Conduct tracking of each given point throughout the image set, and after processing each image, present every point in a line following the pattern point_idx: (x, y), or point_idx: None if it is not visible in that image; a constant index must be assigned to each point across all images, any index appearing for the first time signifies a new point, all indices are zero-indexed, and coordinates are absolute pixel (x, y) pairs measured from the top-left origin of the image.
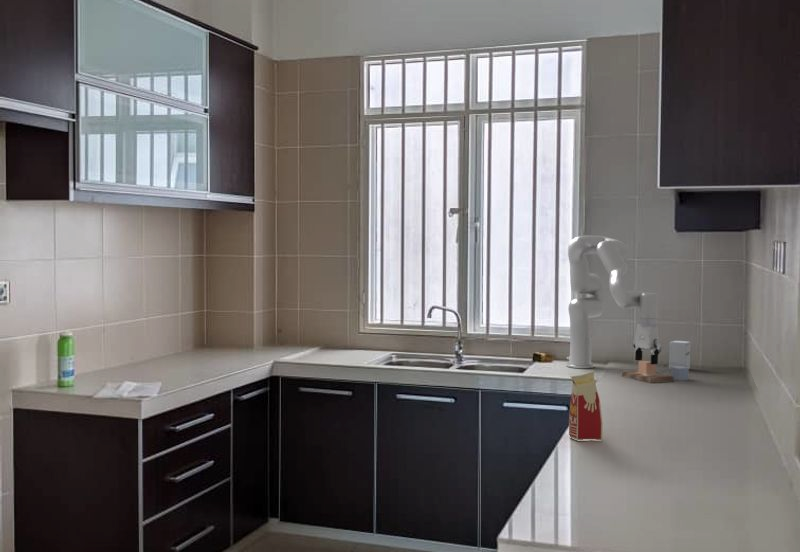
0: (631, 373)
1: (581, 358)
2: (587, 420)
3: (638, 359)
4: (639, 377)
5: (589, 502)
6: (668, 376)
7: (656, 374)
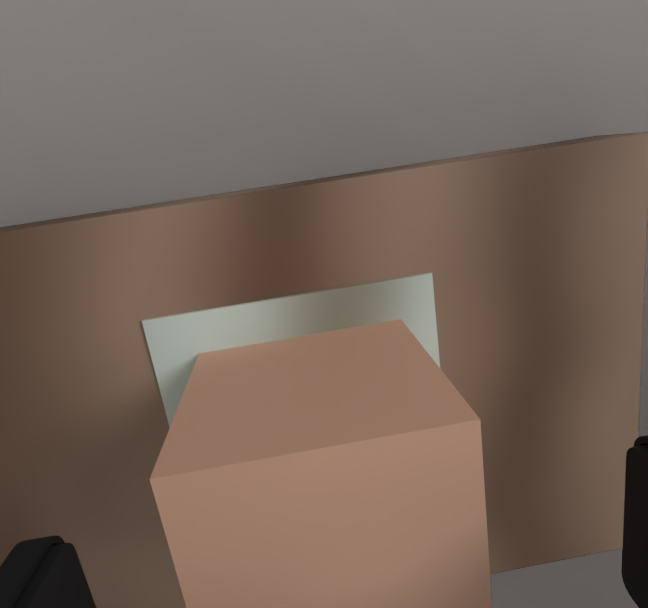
0: (393, 177)
1: None
2: None
3: (635, 506)
4: (167, 203)
5: None
6: None
7: None
